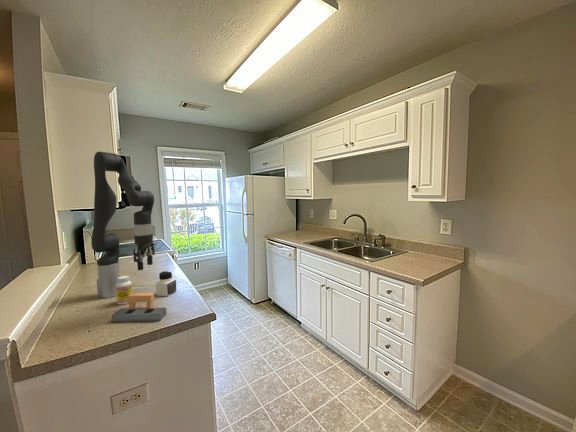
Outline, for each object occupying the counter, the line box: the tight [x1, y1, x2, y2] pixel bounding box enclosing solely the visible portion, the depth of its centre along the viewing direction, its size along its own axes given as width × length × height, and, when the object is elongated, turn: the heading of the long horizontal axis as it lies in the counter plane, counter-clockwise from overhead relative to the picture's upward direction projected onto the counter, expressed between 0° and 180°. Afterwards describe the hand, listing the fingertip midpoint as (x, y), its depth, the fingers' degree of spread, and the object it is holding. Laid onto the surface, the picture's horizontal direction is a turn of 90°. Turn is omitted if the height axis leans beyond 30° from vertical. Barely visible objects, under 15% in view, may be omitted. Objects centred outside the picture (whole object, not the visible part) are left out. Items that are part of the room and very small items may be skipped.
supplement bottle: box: [115, 275, 133, 305], centre depth 123 cm, size 7×7×13 cm
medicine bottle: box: [155, 270, 177, 297], centre depth 134 cm, size 7×7×12 cm
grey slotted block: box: [111, 307, 168, 323], centre depth 107 cm, size 20×6×3 cm, turn 91°
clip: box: [127, 292, 155, 309], centre depth 117 cm, size 11×3×6 cm, turn 91°
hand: (145, 267), depth 118 cm, fingers open, 8 cm apart
